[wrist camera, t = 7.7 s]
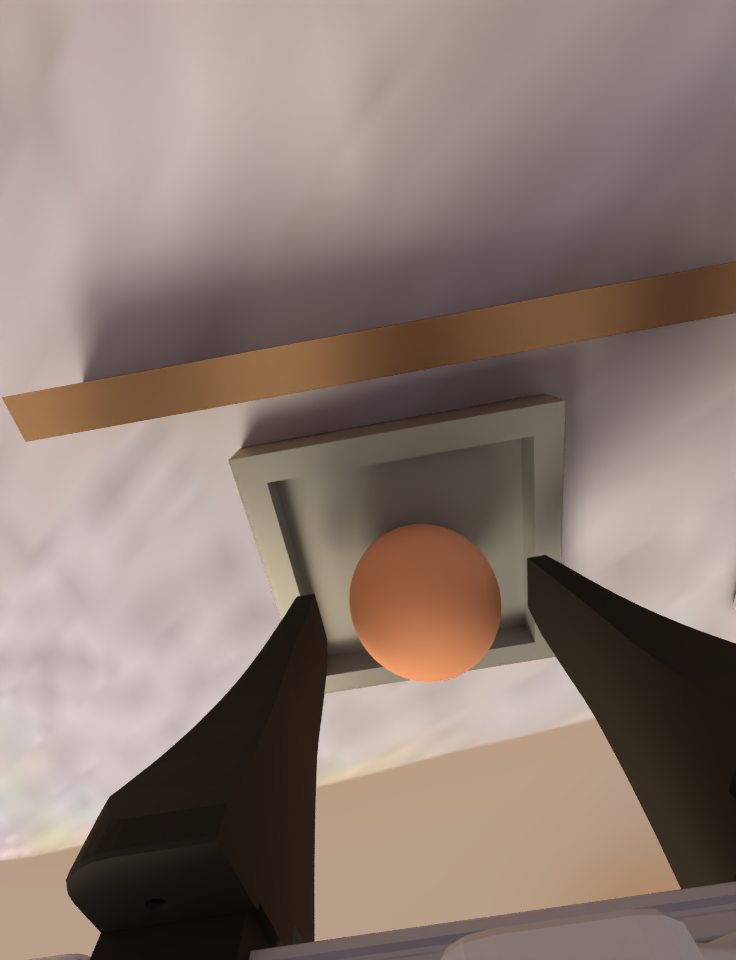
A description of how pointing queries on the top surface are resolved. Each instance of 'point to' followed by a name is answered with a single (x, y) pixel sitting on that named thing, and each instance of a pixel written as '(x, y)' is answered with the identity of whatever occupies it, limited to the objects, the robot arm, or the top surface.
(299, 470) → the tray
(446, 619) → the ball
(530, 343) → the wooden plank
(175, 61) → the top surface
